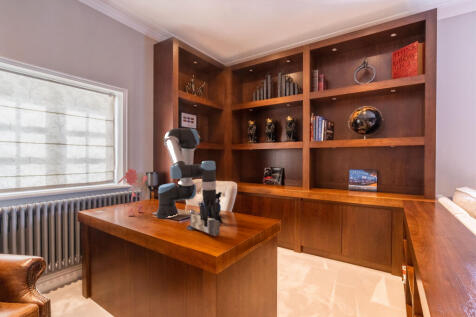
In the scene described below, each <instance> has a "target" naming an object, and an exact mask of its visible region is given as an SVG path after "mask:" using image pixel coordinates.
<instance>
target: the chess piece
mask: <svg viewBox="0 0 476 317" xmlns="http://www.w3.org/2000/svg"><path fill="white" fill-rule="evenodd" d="M222 193H223V192H222V191H219V192H218V193H216V199H220V198H221V197H222ZM208 218H211V219H212V213H211V208H209V216H208ZM216 220H218V221H219V222H220V224H223V223H224V221H223V219H222V216H221V215H219V217H217V219H216Z"/></svg>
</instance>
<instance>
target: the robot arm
mask: <svg viewBox="0 0 476 317" xmlns="http://www.w3.org/2000/svg"><path fill="white" fill-rule="evenodd" d="M163 144H164V147H165V148H167V152H168V155H169V159H170V163H171V166H170V169H169V172H170V173H169V174H170V178H171V179H177V180H178V179H179V180H178V182H177V184H176V183H174V182H170V183H165V184H161V185H160V186H158V192H157V193H158V208H157V212H156V218H157V219H161V220H162V219H168V218H166V217H168V216H173V215H176V214H178V215H179V211H178V208H177V205H176V201H177V202H178V201H189V200H193V199H194V198H195V197H196V195H197V194H196V193H197V185H196V183H195V182H194V181H193V179H195V178H201V189H202V190H201V192H202V200H201V201H200V202H198V203H197V204H198V206H199V215H200V218H201V220H203V221H204V227H205V232H204V233H207V234H209V221H208V217H209V216H208V213H209V208H211V213H212V219H215V220H216V219H217V217H219V216H220V213H219V203H221V199H220V198H219V199H216V194H217V189H216V188H217V179H216V178H217V177H216V172H217V171H216V169H217V167H216V161H214V160H204V161H202V162H201V163H198V164H196V163H195V164H194V156H195V155H194V154H195V153H194V152H195V150H196V149H197V146H199V144H200V134H199V132H198V131H197V129H194V128H176V127H175V128H171V129H169V130H167V131H166V133H165V134H164V136H163ZM204 208H205V209H204Z"/></svg>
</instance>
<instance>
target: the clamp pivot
mask: <svg viewBox="0 0 476 317" xmlns="http://www.w3.org/2000/svg"><path fill="white" fill-rule="evenodd" d="M195 212H196V211H195V209H190V210H189V213H190V225H186V230H189V231H194V230H197V229H196V228H194V227H192V215H194V214H195Z"/></svg>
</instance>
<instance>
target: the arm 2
mask: <svg viewBox="0 0 476 317" xmlns="http://www.w3.org/2000/svg"><path fill="white" fill-rule="evenodd" d="M194 215H197V216H200V214H198V213H194ZM208 219H209V220H213V221H216V222H217V235H216V236H220V235H221V233H220V229H221V228H220V226H221V225H220V222H219V221H218V220H215V219H211V218H208Z"/></svg>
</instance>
